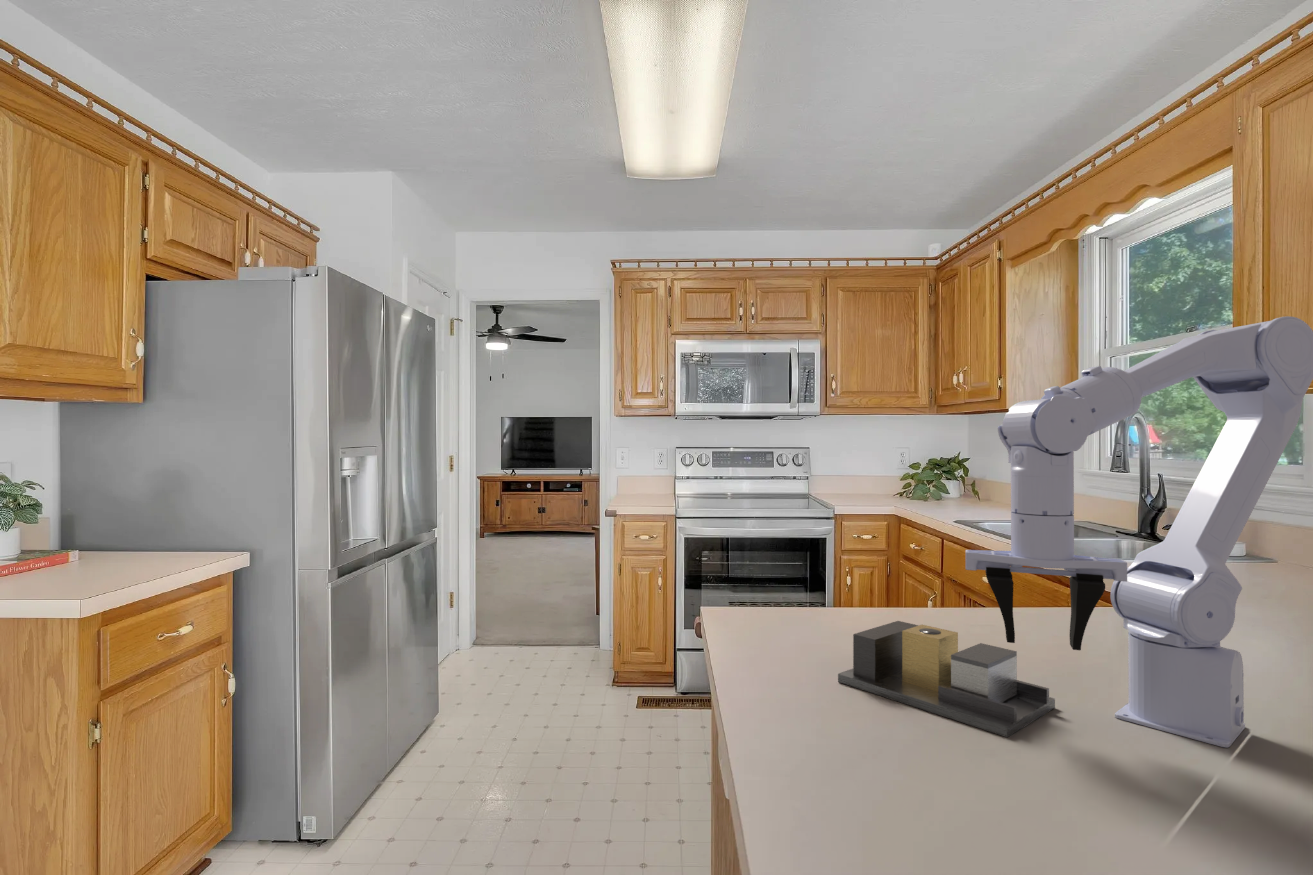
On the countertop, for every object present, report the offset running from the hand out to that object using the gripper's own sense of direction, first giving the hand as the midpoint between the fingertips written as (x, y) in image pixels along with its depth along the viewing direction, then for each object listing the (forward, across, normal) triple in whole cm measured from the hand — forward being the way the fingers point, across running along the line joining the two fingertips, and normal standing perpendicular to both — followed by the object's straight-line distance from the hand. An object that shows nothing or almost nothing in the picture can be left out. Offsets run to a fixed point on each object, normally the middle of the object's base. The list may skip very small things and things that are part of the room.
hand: (1042, 643), depth 70 cm
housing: (+7, +11, -5) cm, 14 cm away
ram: (+7, +5, -3) cm, 9 cm away
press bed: (+8, +10, -5) cm, 14 cm away
